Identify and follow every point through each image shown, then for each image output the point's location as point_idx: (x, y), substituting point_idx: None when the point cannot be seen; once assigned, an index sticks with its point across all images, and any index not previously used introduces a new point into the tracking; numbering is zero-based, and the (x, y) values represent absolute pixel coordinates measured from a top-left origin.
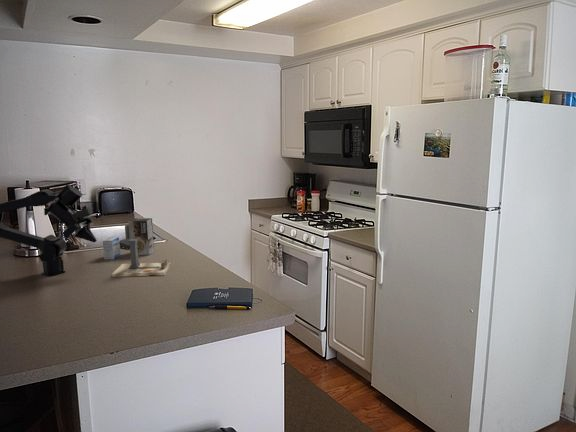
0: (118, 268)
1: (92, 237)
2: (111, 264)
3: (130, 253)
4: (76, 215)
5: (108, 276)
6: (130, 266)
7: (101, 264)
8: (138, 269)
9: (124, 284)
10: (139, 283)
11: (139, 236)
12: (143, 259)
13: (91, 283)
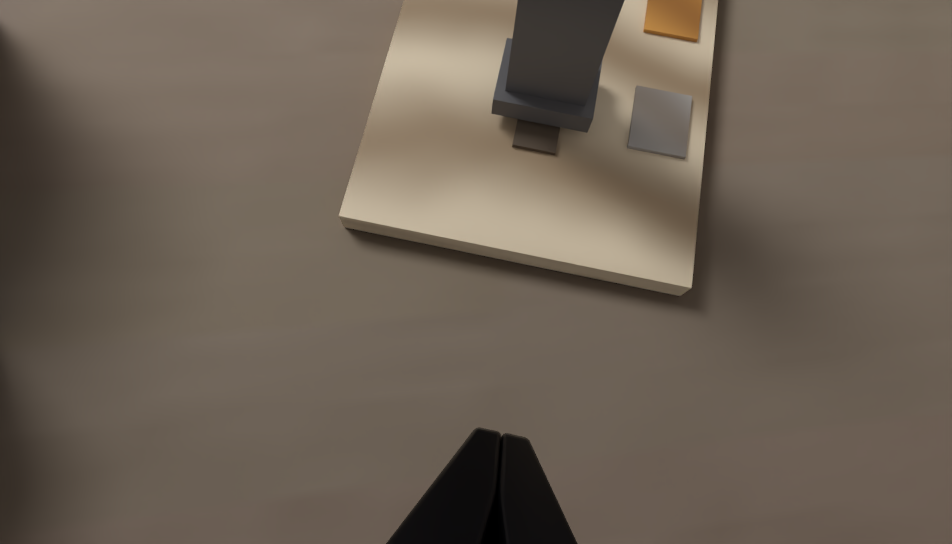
0: (510, 241)
1: (566, 535)
2: (199, 342)
3: (619, 13)
4: None
5: (659, 331)
6: (592, 116)
7: (146, 455)
8: None
9: (919, 183)
10: (901, 81)
11: None
12: (142, 59)
13: (867, 468)
